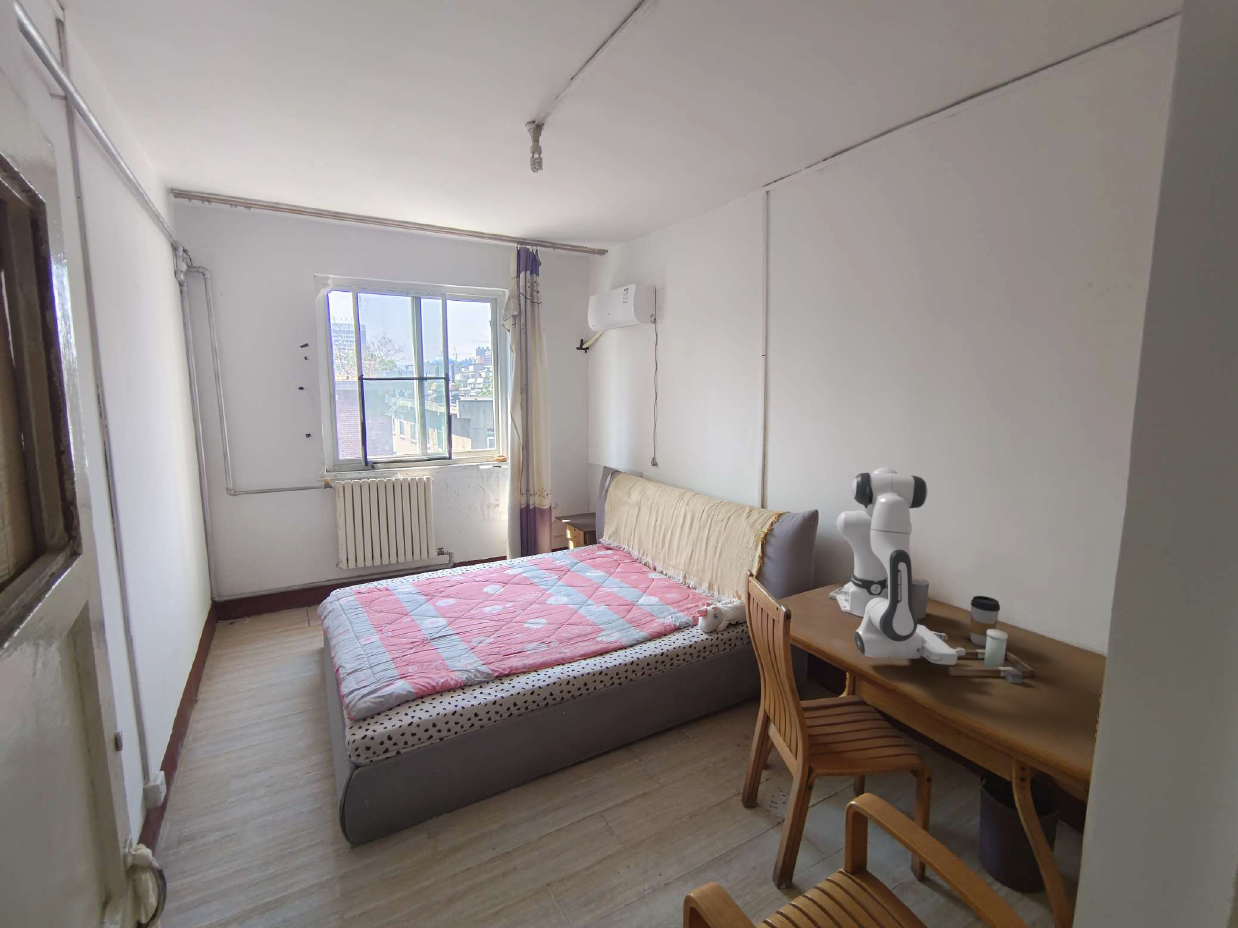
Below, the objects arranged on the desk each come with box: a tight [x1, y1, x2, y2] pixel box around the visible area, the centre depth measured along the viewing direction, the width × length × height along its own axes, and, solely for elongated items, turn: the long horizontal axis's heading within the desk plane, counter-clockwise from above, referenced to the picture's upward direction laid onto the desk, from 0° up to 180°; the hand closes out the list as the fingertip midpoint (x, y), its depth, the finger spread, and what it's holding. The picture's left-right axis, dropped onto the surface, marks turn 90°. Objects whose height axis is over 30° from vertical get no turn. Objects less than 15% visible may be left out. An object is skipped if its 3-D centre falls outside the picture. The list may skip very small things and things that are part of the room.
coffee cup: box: [969, 595, 1001, 647], centre depth 191 cm, size 8×8×15 cm
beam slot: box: [946, 649, 1036, 684], centre depth 174 cm, size 16×25×3 cm, turn 89°
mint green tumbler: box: [983, 628, 1009, 667], centre depth 176 cm, size 5×5×11 cm
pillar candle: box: [912, 574, 930, 620], centre depth 214 cm, size 10×10×15 cm
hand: (954, 643), depth 175 cm, fingers open, 8 cm apart
